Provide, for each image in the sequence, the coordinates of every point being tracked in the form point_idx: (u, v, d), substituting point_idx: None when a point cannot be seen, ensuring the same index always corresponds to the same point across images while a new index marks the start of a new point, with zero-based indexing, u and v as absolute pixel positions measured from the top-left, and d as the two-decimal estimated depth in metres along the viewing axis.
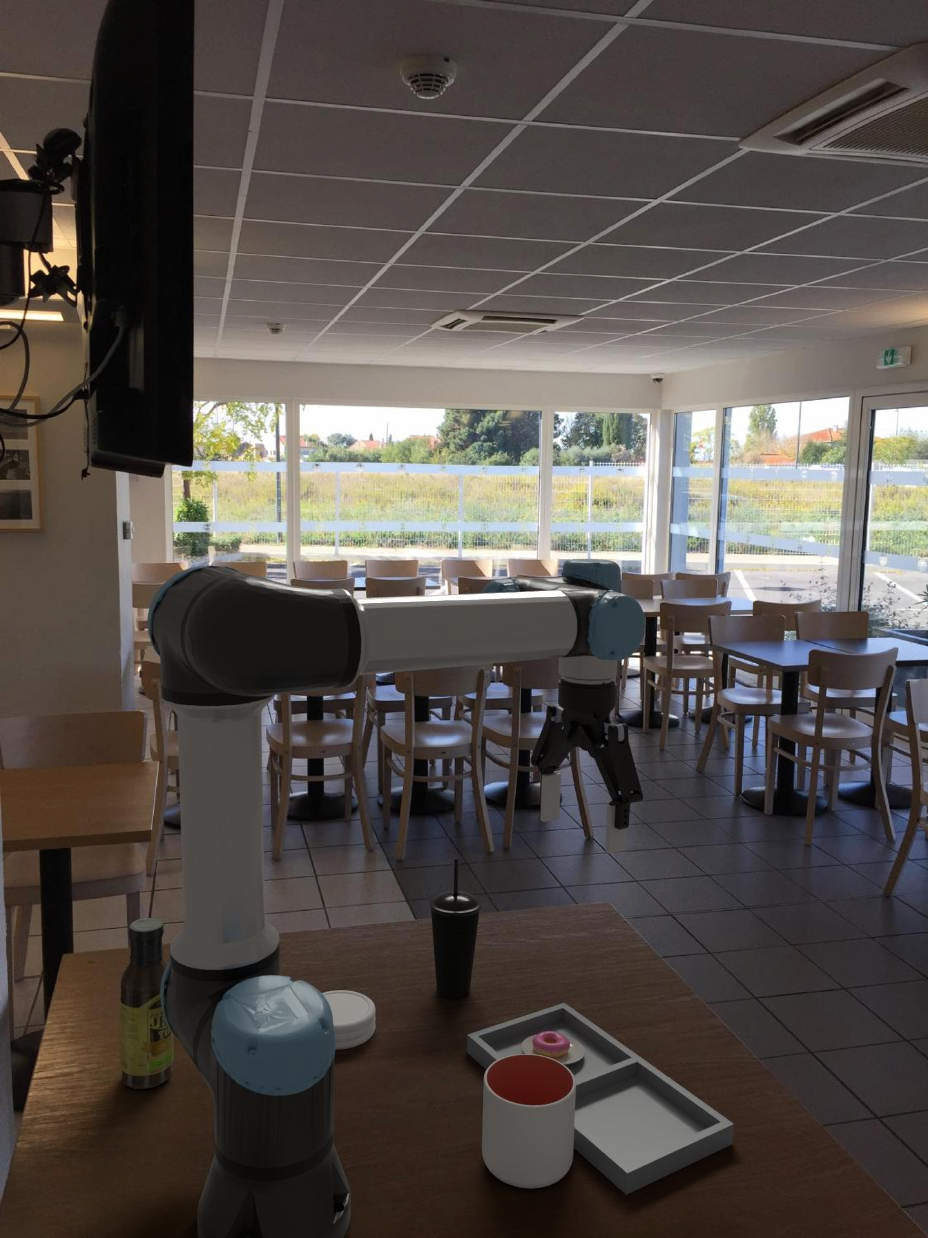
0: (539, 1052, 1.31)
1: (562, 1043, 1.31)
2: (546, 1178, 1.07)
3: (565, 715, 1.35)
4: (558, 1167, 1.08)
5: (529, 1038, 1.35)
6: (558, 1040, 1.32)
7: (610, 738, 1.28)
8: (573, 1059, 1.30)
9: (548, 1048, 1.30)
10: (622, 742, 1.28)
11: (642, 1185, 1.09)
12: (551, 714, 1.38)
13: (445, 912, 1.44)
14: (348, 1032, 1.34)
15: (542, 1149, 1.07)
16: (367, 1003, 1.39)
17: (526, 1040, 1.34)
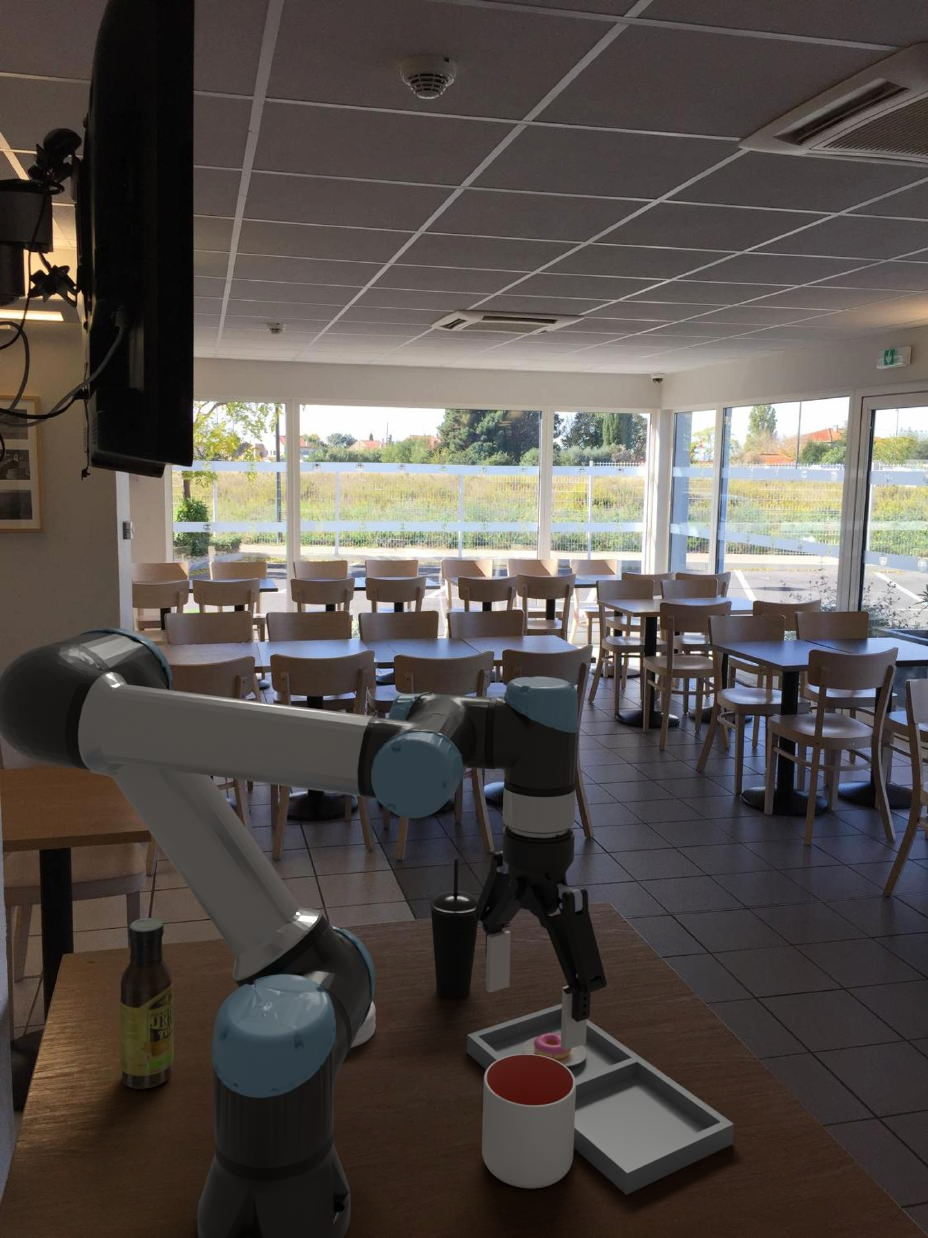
0: (541, 1054, 1.30)
1: None
2: (546, 1178, 1.07)
3: (512, 868, 1.10)
4: (558, 1167, 1.08)
5: (530, 1040, 1.34)
6: (560, 1042, 1.32)
7: (565, 908, 1.02)
8: (575, 1061, 1.30)
9: (550, 1050, 1.30)
10: (580, 912, 1.03)
11: (642, 1185, 1.09)
12: (496, 864, 1.12)
13: (445, 912, 1.44)
14: None
15: (542, 1149, 1.07)
16: None
17: (527, 1042, 1.34)
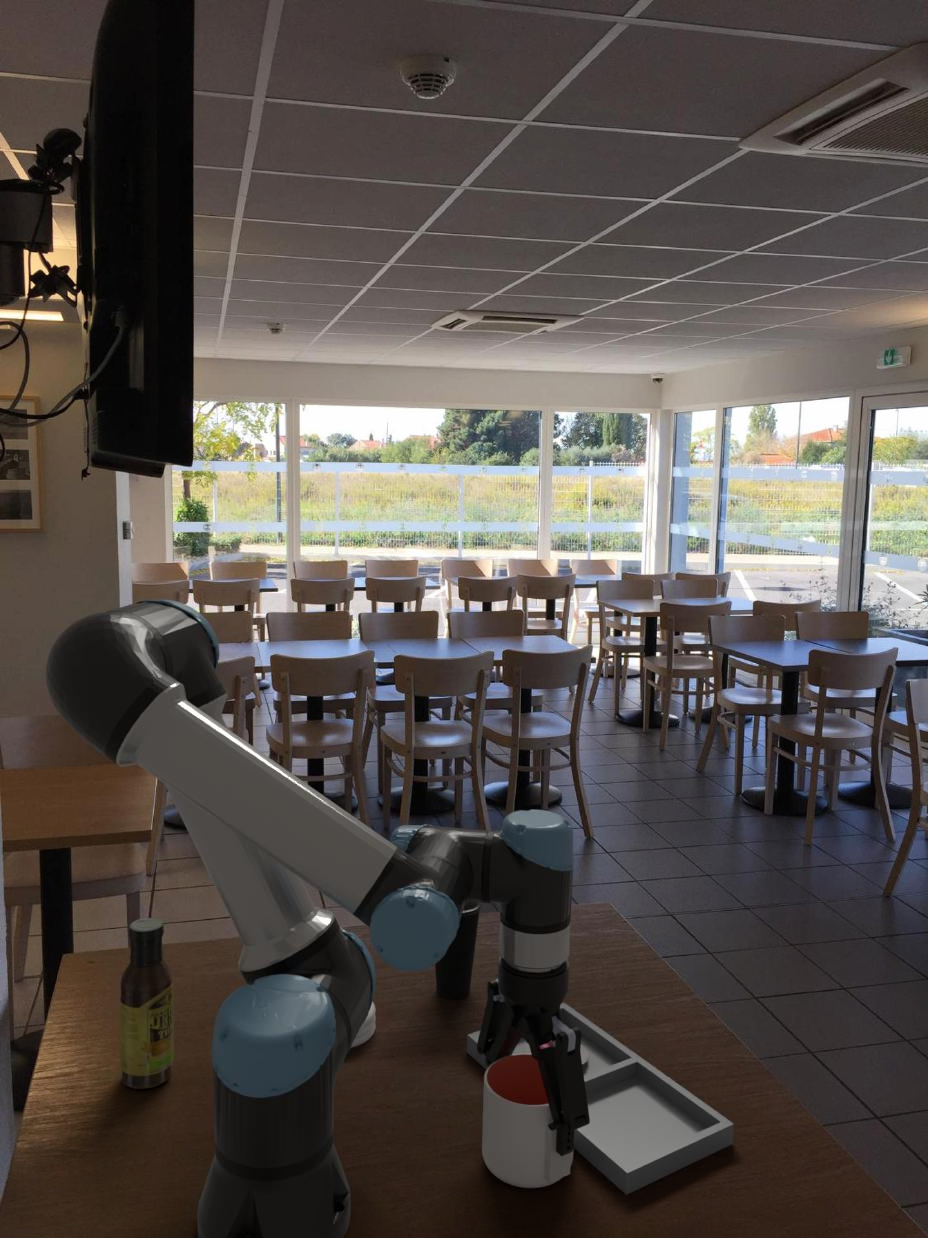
0: None
1: None
2: None
3: None
4: None
5: None
6: None
7: (558, 1048, 1.04)
8: None
9: None
10: (572, 1052, 1.05)
11: (642, 1185, 1.09)
12: (492, 993, 1.14)
13: None
14: None
15: (542, 1149, 1.07)
16: None
17: None
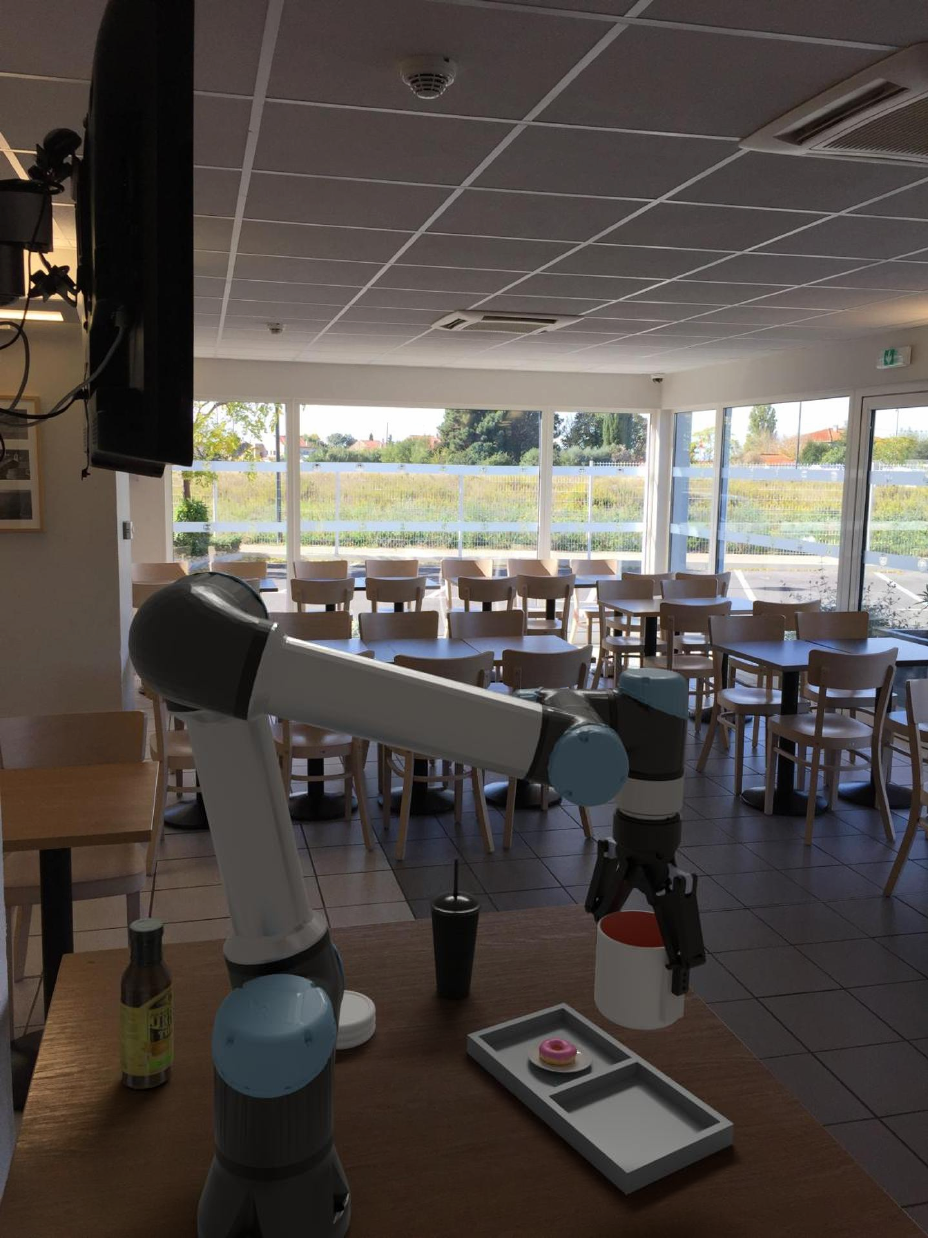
0: (547, 1060, 1.29)
1: (570, 1050, 1.30)
2: None
3: (620, 849, 1.16)
4: None
5: (534, 1046, 1.33)
6: (565, 1047, 1.31)
7: (675, 890, 1.08)
8: (581, 1066, 1.29)
9: (556, 1056, 1.29)
10: (689, 894, 1.09)
11: (642, 1185, 1.09)
12: (603, 850, 1.18)
13: (445, 912, 1.44)
14: (348, 1032, 1.34)
15: (658, 990, 1.11)
16: (367, 1004, 1.39)
17: (531, 1048, 1.32)
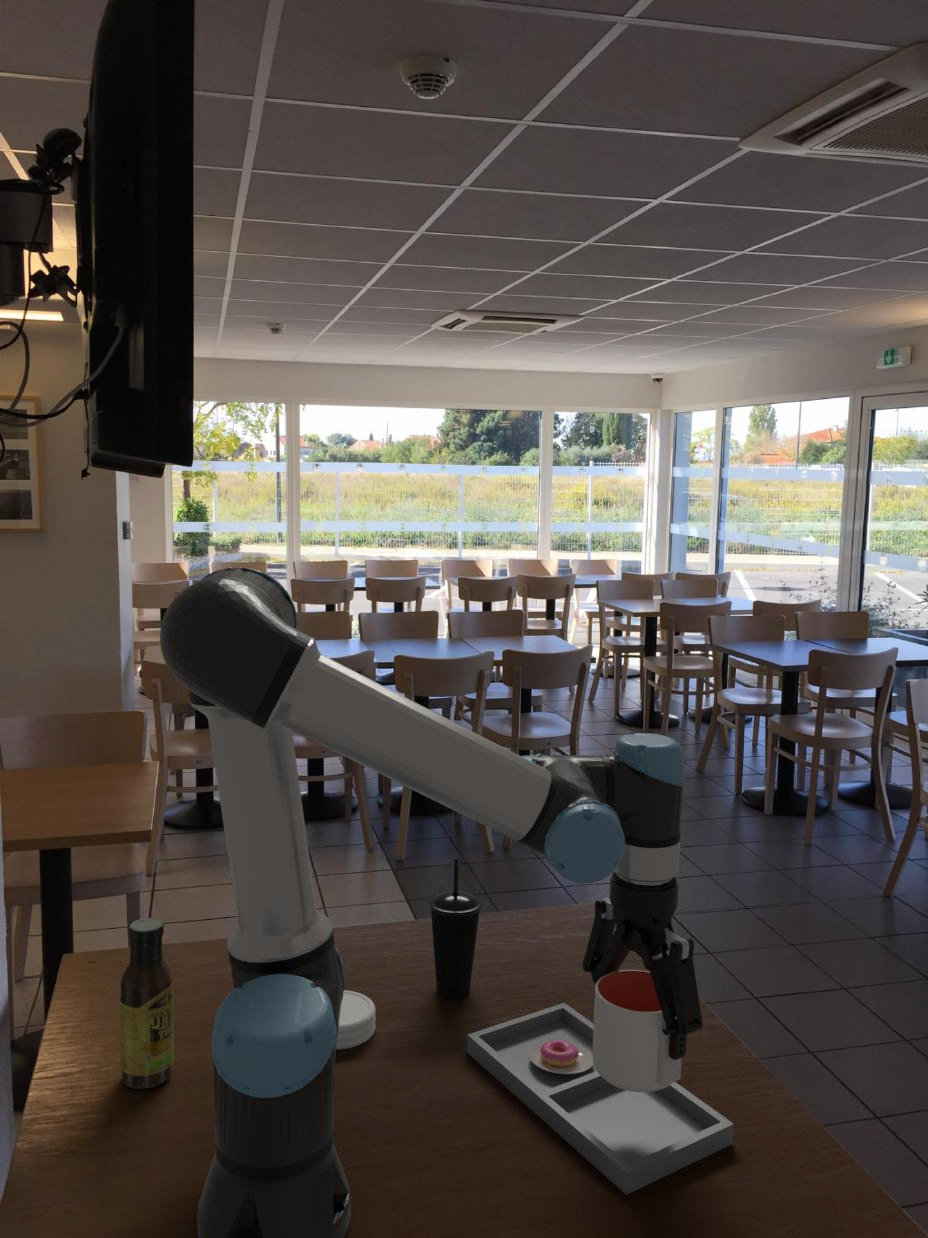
0: (549, 1062, 1.29)
1: (571, 1052, 1.29)
2: None
3: (617, 911, 1.17)
4: None
5: (535, 1048, 1.33)
6: (566, 1048, 1.30)
7: (672, 956, 1.10)
8: (583, 1067, 1.29)
9: (558, 1057, 1.28)
10: (685, 960, 1.10)
11: (642, 1185, 1.09)
12: (600, 911, 1.19)
13: (445, 912, 1.44)
14: (348, 1032, 1.34)
15: (655, 1054, 1.12)
16: (367, 1004, 1.39)
17: (533, 1050, 1.32)
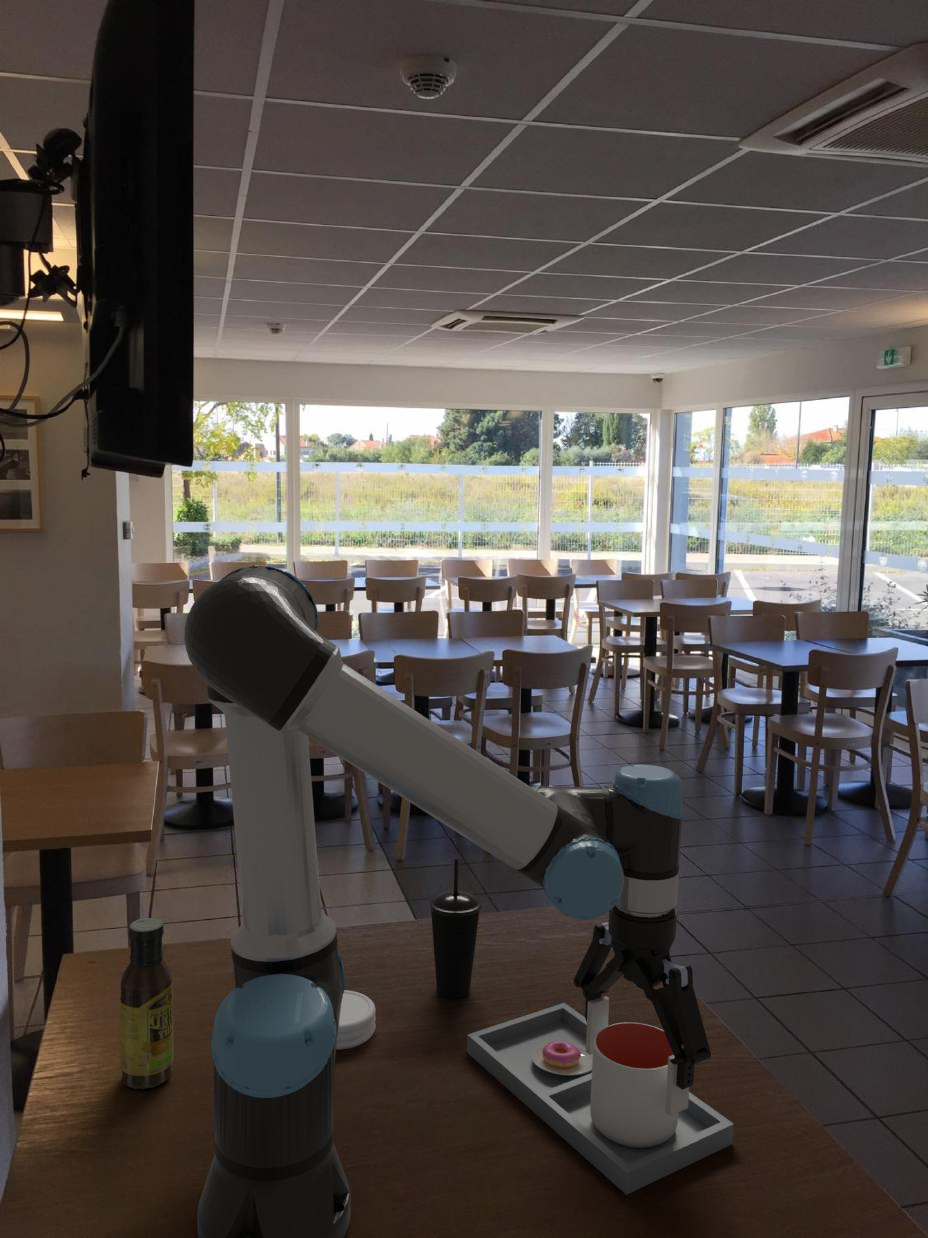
0: (551, 1063, 1.28)
1: (574, 1053, 1.29)
2: (656, 1138, 1.13)
3: (616, 942, 1.17)
4: (667, 1128, 1.14)
5: (537, 1049, 1.32)
6: (568, 1050, 1.30)
7: (672, 984, 1.10)
8: (585, 1068, 1.29)
9: (561, 1059, 1.28)
10: (685, 987, 1.10)
11: (642, 1185, 1.09)
12: (599, 936, 1.20)
13: (445, 912, 1.44)
14: (348, 1032, 1.34)
15: (653, 1110, 1.13)
16: (367, 1003, 1.39)
17: (535, 1051, 1.32)
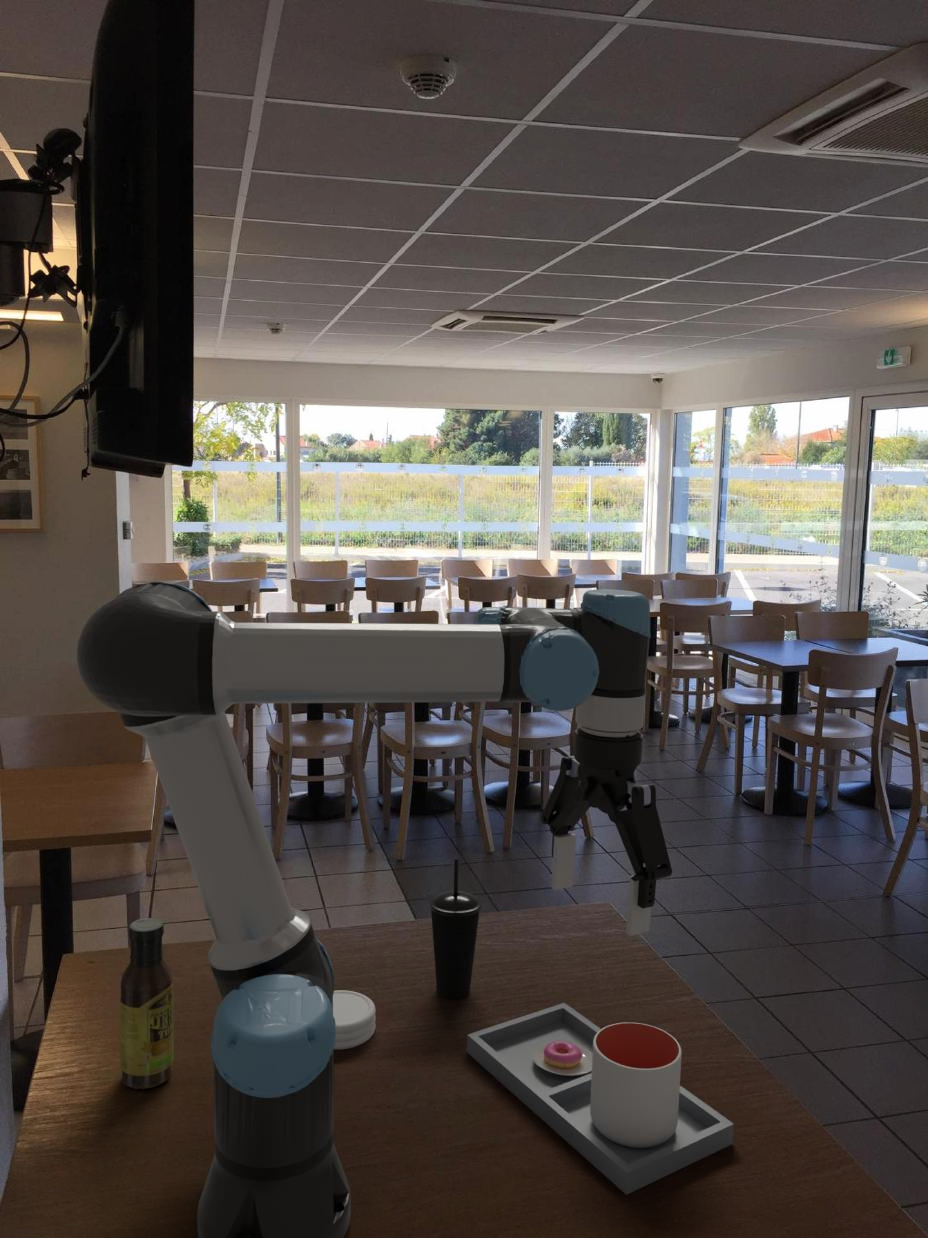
0: (552, 1063, 1.28)
1: (575, 1053, 1.29)
2: (656, 1138, 1.13)
3: (582, 770, 1.17)
4: (667, 1128, 1.14)
5: (539, 1049, 1.32)
6: (570, 1050, 1.30)
7: (634, 801, 1.09)
8: (586, 1069, 1.28)
9: (562, 1059, 1.28)
10: (648, 806, 1.10)
11: (642, 1185, 1.09)
12: (566, 768, 1.19)
13: (445, 912, 1.44)
14: (348, 1032, 1.34)
15: (653, 1110, 1.13)
16: (367, 1003, 1.39)
17: (536, 1051, 1.32)
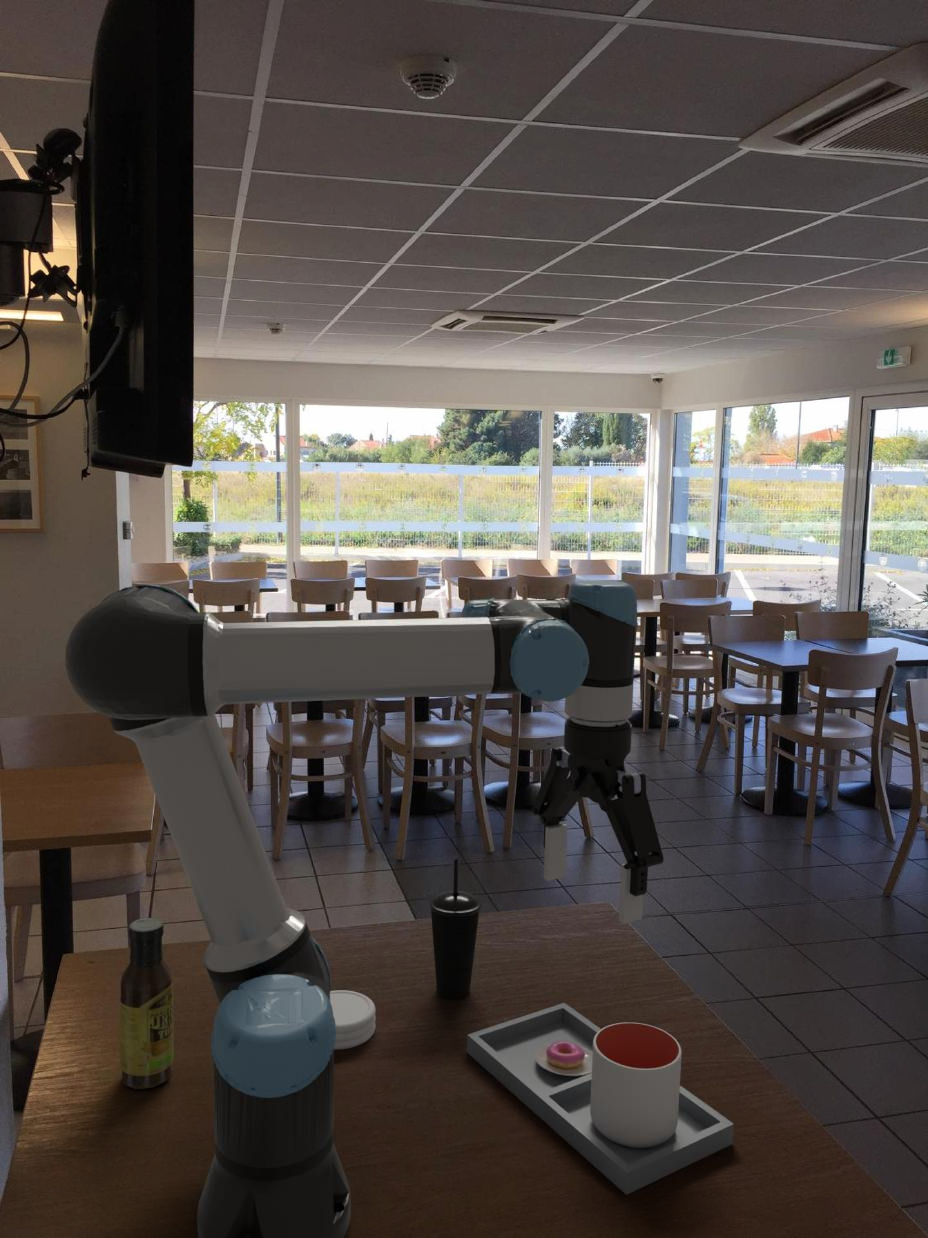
0: (554, 1063, 1.28)
1: (577, 1054, 1.29)
2: (656, 1138, 1.13)
3: (572, 760, 1.17)
4: (667, 1128, 1.14)
5: (542, 1049, 1.32)
6: (573, 1050, 1.30)
7: (625, 790, 1.10)
8: (588, 1070, 1.28)
9: (563, 1059, 1.28)
10: (639, 794, 1.10)
11: (642, 1185, 1.09)
12: (556, 758, 1.20)
13: (445, 912, 1.44)
14: (348, 1032, 1.34)
15: (653, 1110, 1.13)
16: (367, 1003, 1.39)
17: (539, 1051, 1.32)
